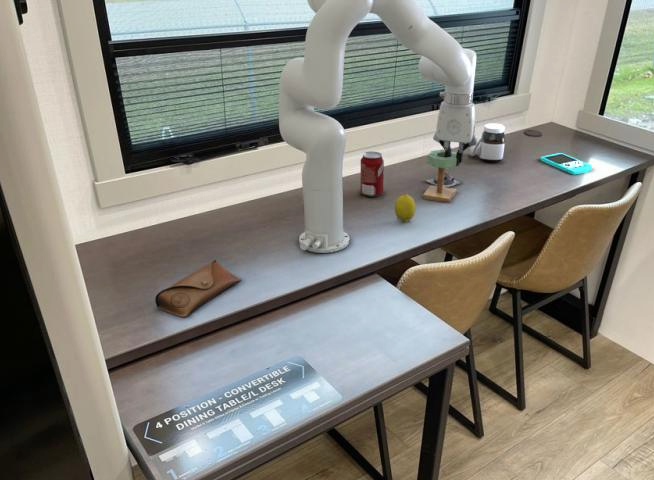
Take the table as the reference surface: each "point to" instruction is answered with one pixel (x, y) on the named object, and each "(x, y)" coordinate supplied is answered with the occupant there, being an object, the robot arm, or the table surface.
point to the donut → (447, 181)
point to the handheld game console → (567, 163)
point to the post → (439, 190)
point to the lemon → (405, 207)
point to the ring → (442, 159)
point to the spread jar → (490, 143)
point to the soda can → (372, 174)
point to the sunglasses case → (195, 290)
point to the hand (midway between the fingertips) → (453, 163)
